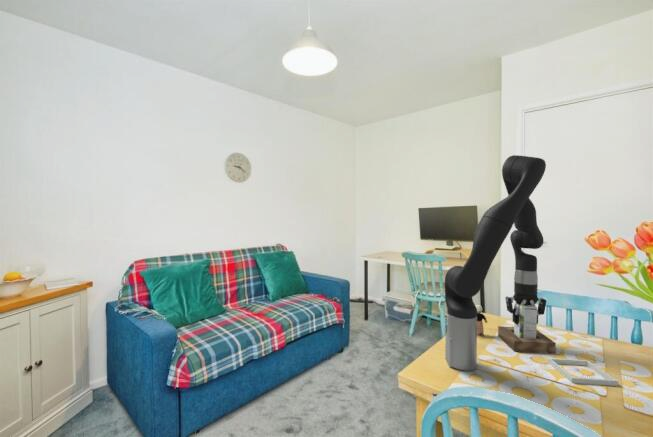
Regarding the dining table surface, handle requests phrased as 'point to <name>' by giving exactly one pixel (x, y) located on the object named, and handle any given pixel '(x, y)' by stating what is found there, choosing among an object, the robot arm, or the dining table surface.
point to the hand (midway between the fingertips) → (525, 324)
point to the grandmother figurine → (480, 321)
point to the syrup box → (526, 322)
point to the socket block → (526, 342)
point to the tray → (606, 381)
